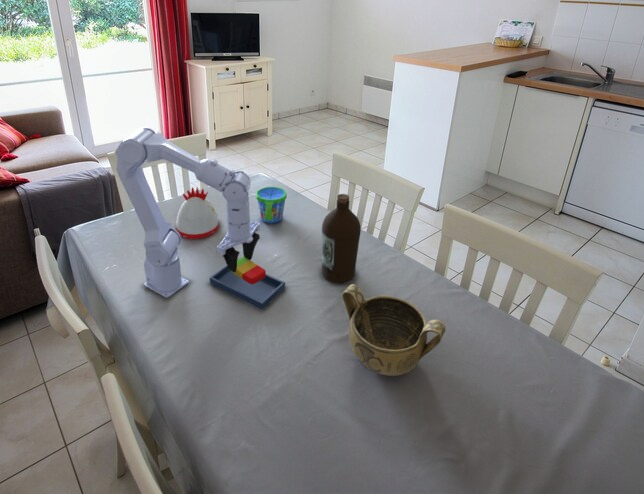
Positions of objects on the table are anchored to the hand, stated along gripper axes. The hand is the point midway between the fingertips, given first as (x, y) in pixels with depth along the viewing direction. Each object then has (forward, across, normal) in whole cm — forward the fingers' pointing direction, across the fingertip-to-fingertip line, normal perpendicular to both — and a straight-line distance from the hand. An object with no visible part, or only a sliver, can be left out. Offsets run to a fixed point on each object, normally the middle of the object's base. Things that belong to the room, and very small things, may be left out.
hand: (240, 264), depth 113 cm
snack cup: (+9, +35, +16) cm, 40 cm away
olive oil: (+9, +21, -18) cm, 29 cm away
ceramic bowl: (+9, 0, -41) cm, 42 cm away
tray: (+8, +2, 0) cm, 9 cm away
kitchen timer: (+9, +16, +33) cm, 38 cm away
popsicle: (+2, 0, 0) cm, 2 cm away
